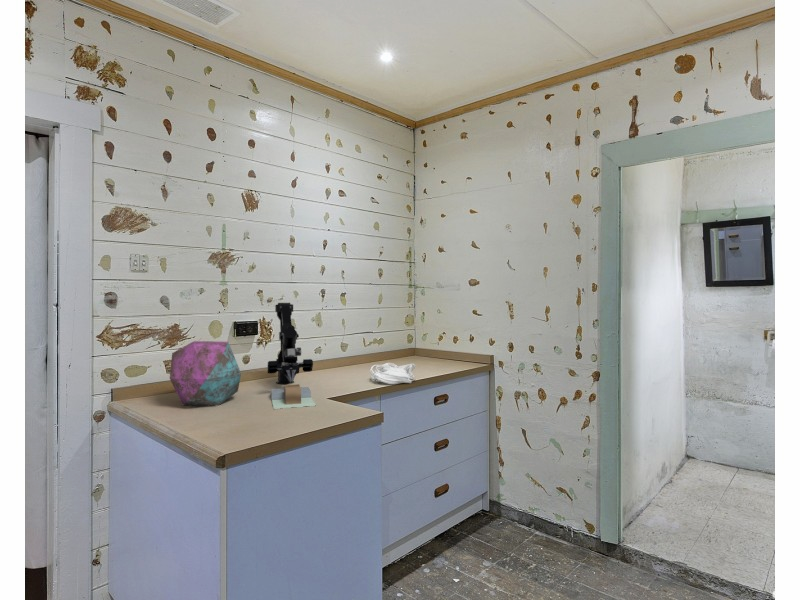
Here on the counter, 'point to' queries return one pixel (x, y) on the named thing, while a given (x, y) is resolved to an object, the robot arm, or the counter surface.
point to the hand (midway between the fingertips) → (291, 382)
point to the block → (292, 394)
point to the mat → (281, 404)
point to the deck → (279, 393)
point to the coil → (393, 373)
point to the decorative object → (205, 373)
